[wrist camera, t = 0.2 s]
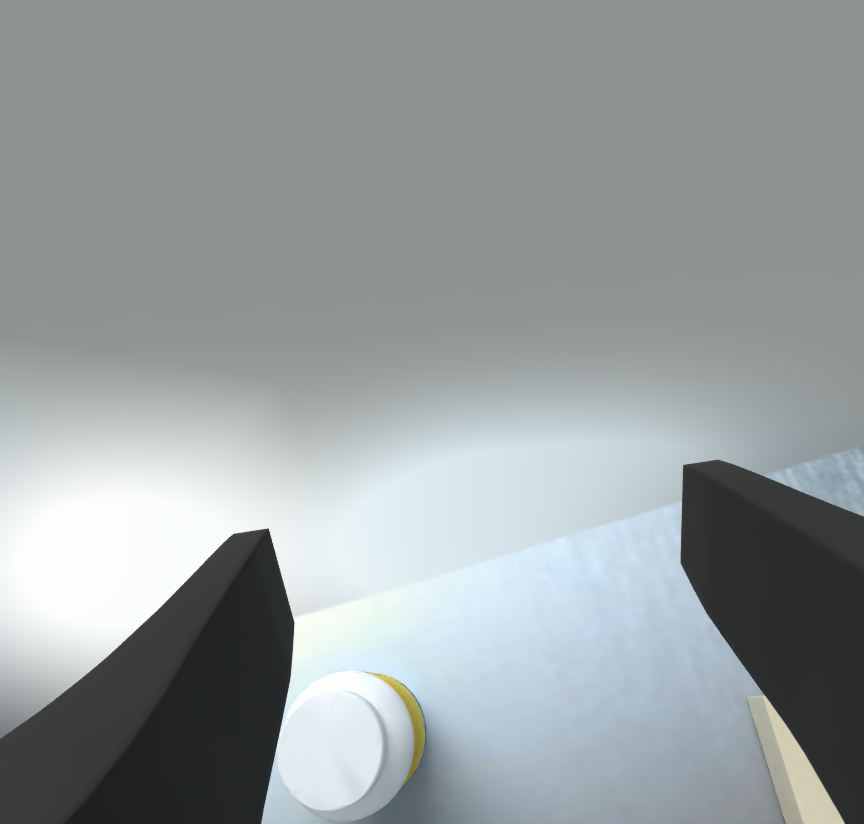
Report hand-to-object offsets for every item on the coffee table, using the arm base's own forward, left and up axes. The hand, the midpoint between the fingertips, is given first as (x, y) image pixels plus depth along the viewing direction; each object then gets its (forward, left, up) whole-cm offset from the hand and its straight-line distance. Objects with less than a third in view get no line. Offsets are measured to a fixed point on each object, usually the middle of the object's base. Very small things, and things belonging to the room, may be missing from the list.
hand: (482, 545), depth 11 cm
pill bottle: (-4, +7, -31) cm, 32 cm away
